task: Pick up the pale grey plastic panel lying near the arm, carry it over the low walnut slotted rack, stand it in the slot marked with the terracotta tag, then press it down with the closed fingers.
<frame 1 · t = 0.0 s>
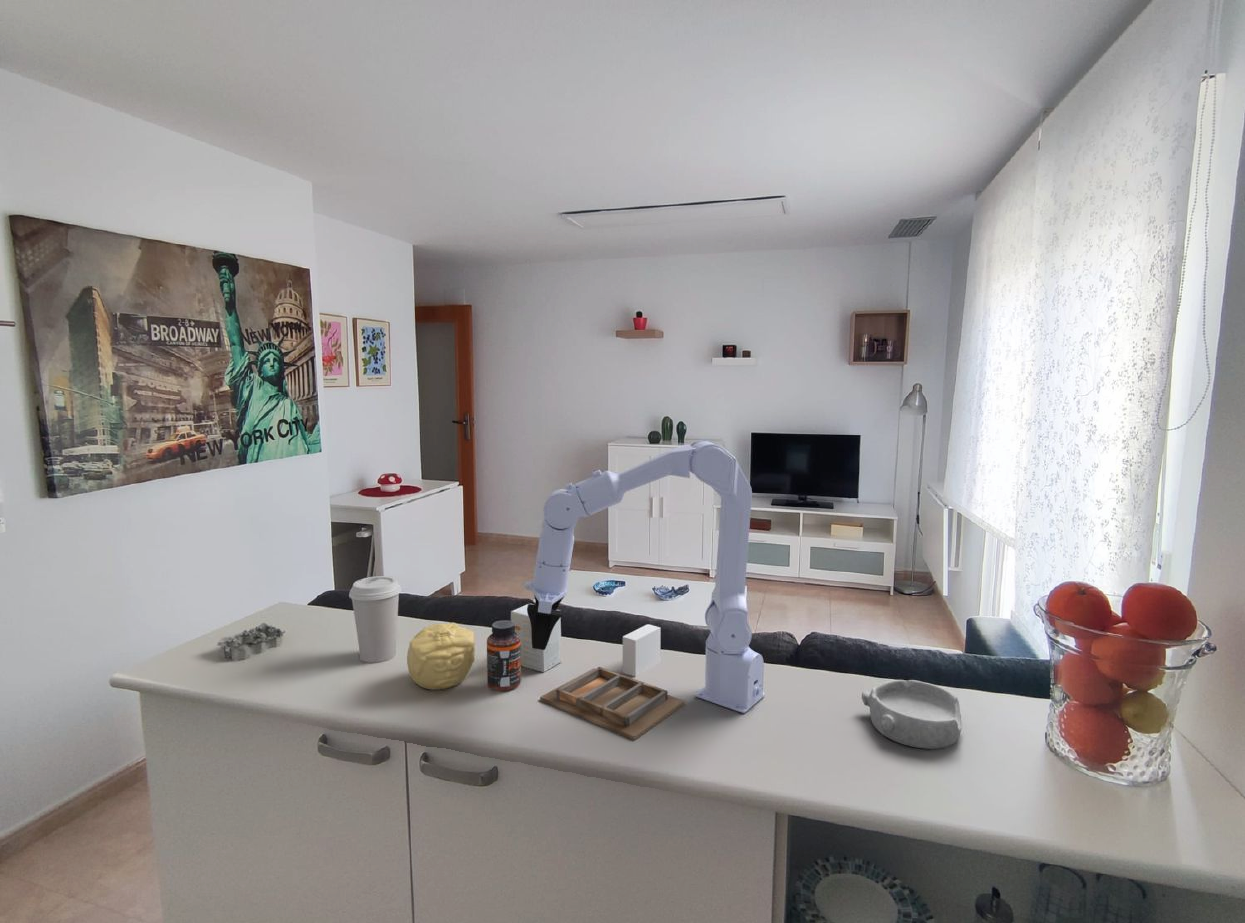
hand: (540, 639, 107), 11 cm above the worktop, tool pointing down, fingers open, 7 cm apart
sculpture: (441, 682, 114), on the worktop
coffee cup: (378, 656, 125), on the worktop
supplement bottle: (504, 686, 113), on the worktop
blanking panel: (641, 667, 120), on the worktop
egg carton: (252, 651, 128), on the worktop
slot rack: (611, 702, 107), on the worktop
small box: (536, 664, 122), on the worktop
dish: (912, 729, 99), on the worktop
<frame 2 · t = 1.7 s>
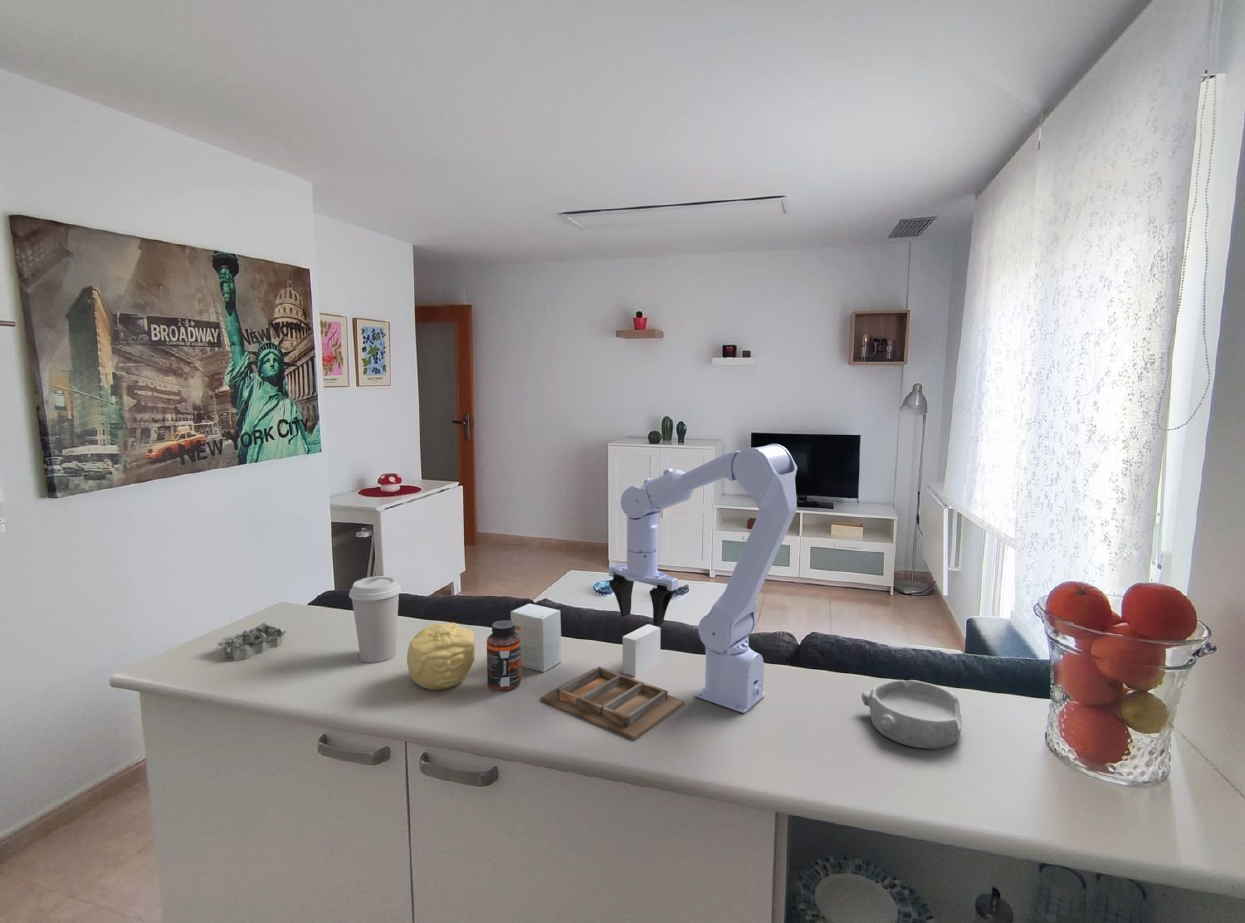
hand: (641, 619, 119), 9 cm above the worktop, tool pointing down, fingers open, 7 cm apart
nothing on the worktop moved.
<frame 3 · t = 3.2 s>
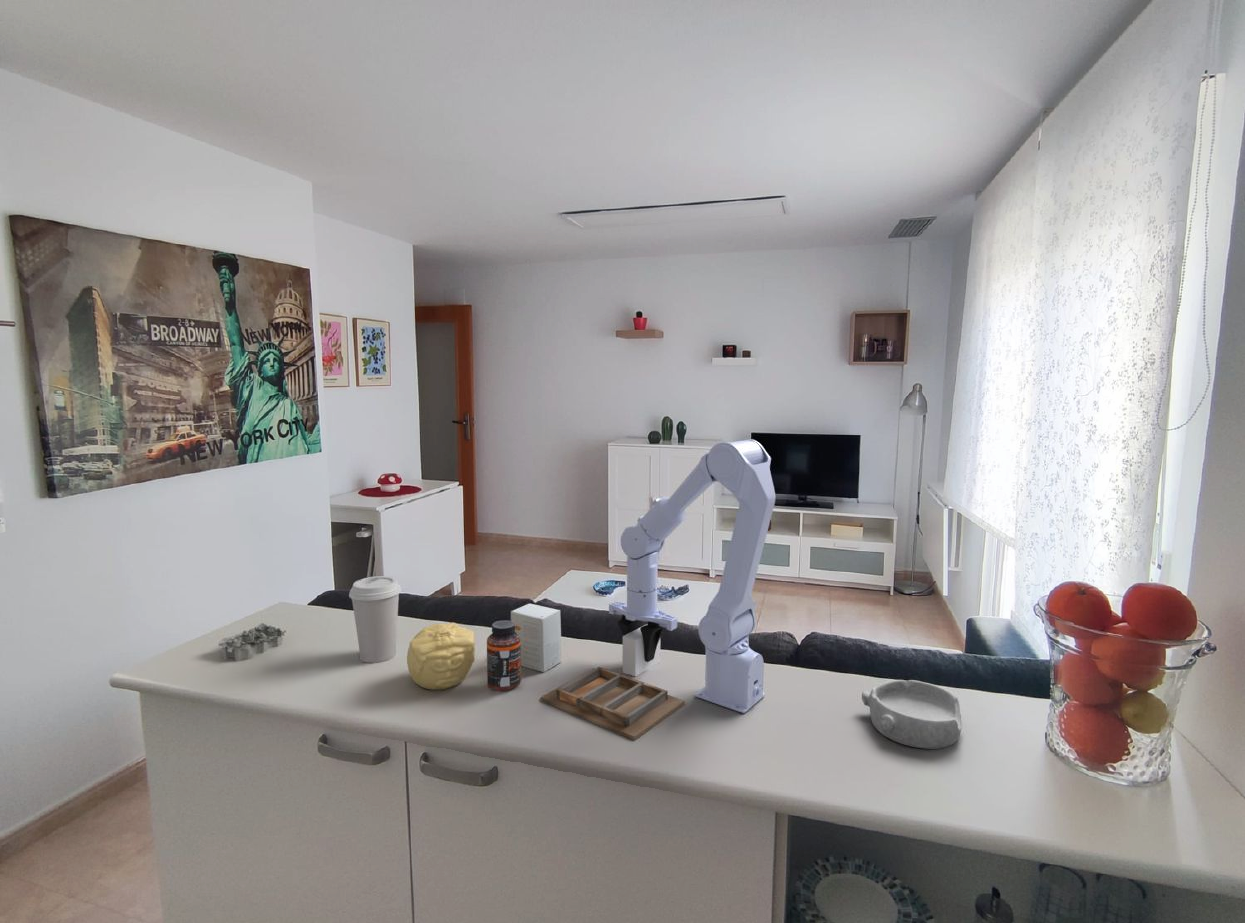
hand: (641, 657, 120), 2 cm above the worktop, tool pointing down, fingers closed on blanking panel, 3 cm apart
blanking panel: (641, 667, 120), on the worktop, touching gripper
everything else where it was.
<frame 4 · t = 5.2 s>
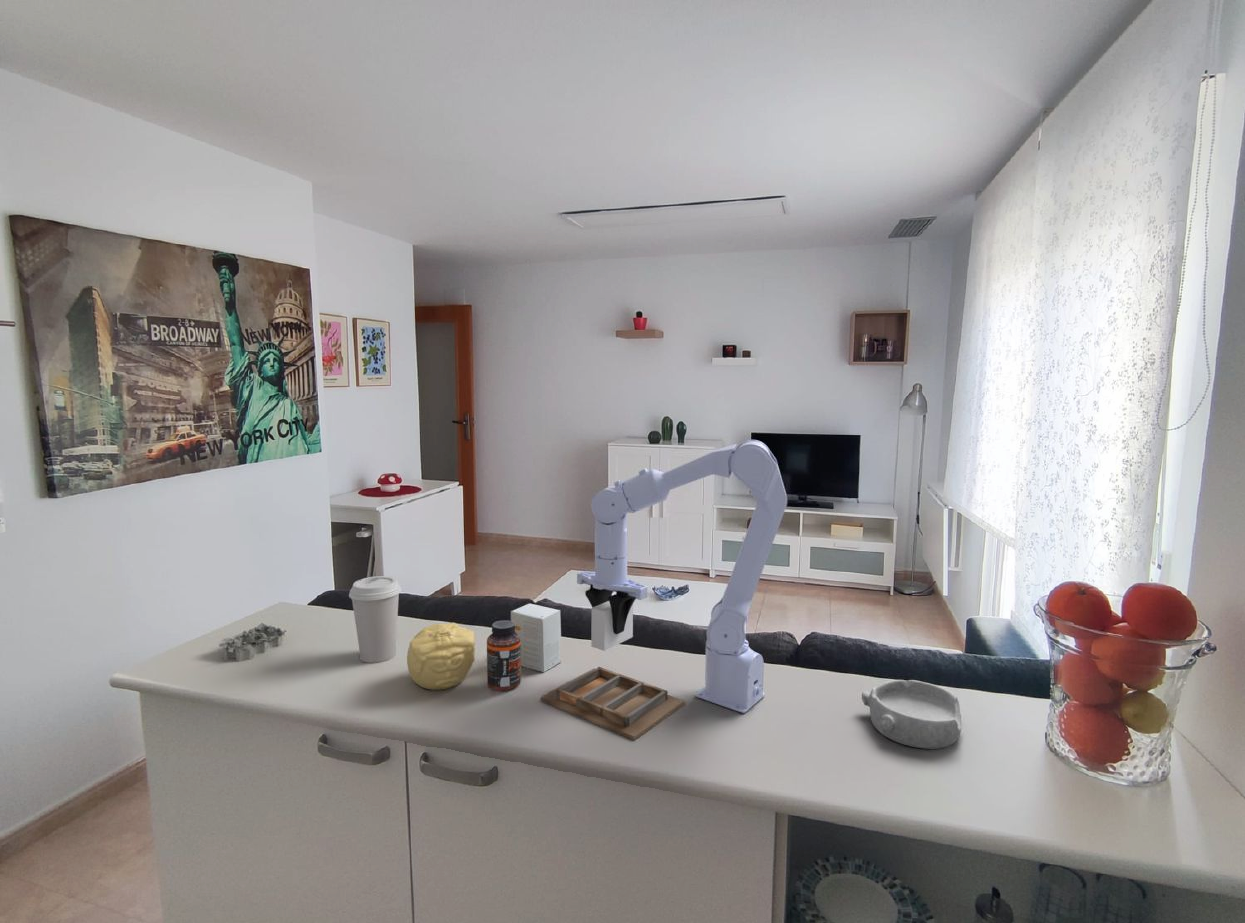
hand: (610, 629, 112), 10 cm above the worktop, tool pointing down, fingers closed on blanking panel, 3 cm apart
blanking panel: (612, 641, 113), point 8 cm above the worktop, touching gripper
everything else where it was.
when the fingers open (4 cm above the worktop, at t = 7.2 s): blanking panel stays where it is, resting on slot rack.
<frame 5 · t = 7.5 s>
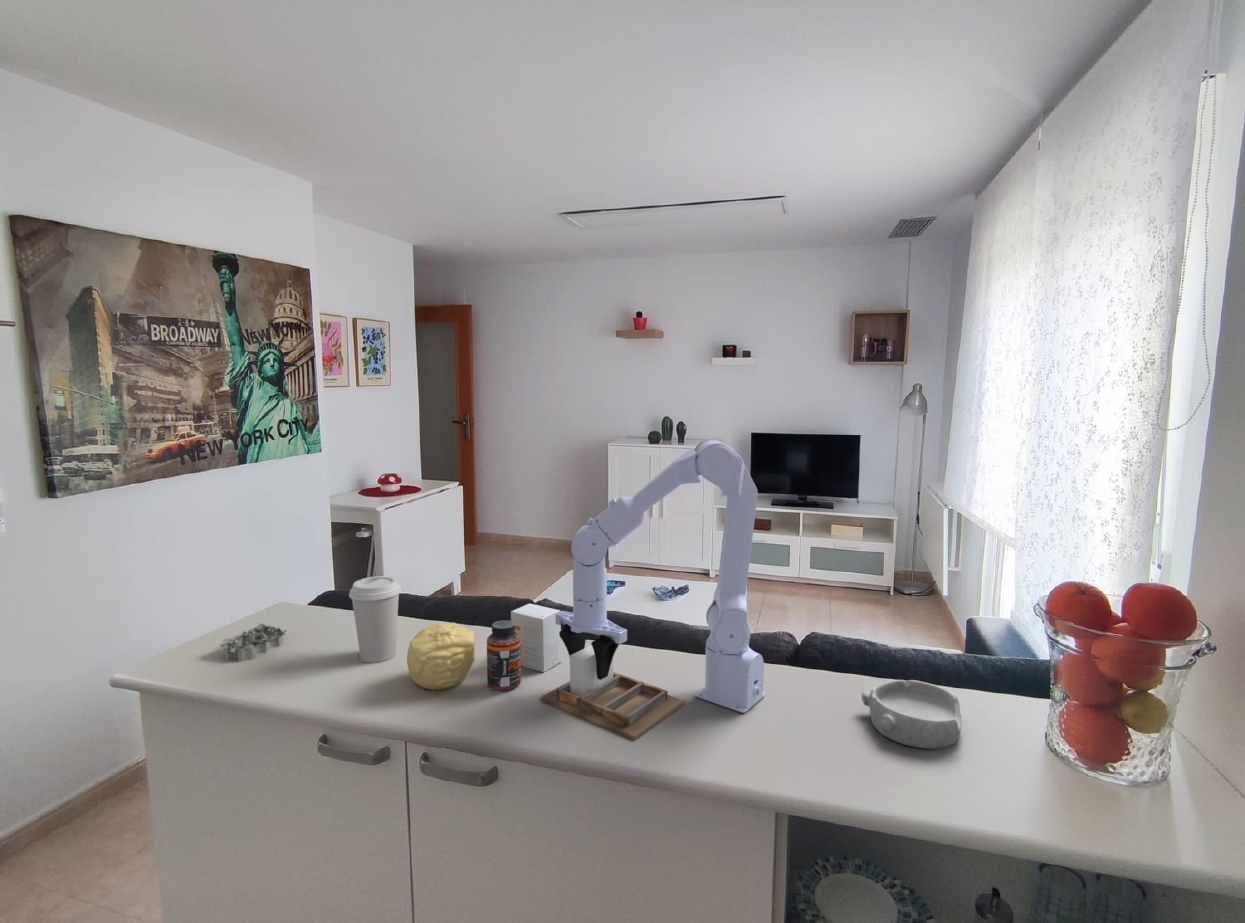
hand: (590, 672, 109), 4 cm above the worktop, tool pointing down, fingers open, 5 cm apart
blanking panel: (592, 688, 110), point 1 cm above the worktop, touching slot rack
everything else where it was.
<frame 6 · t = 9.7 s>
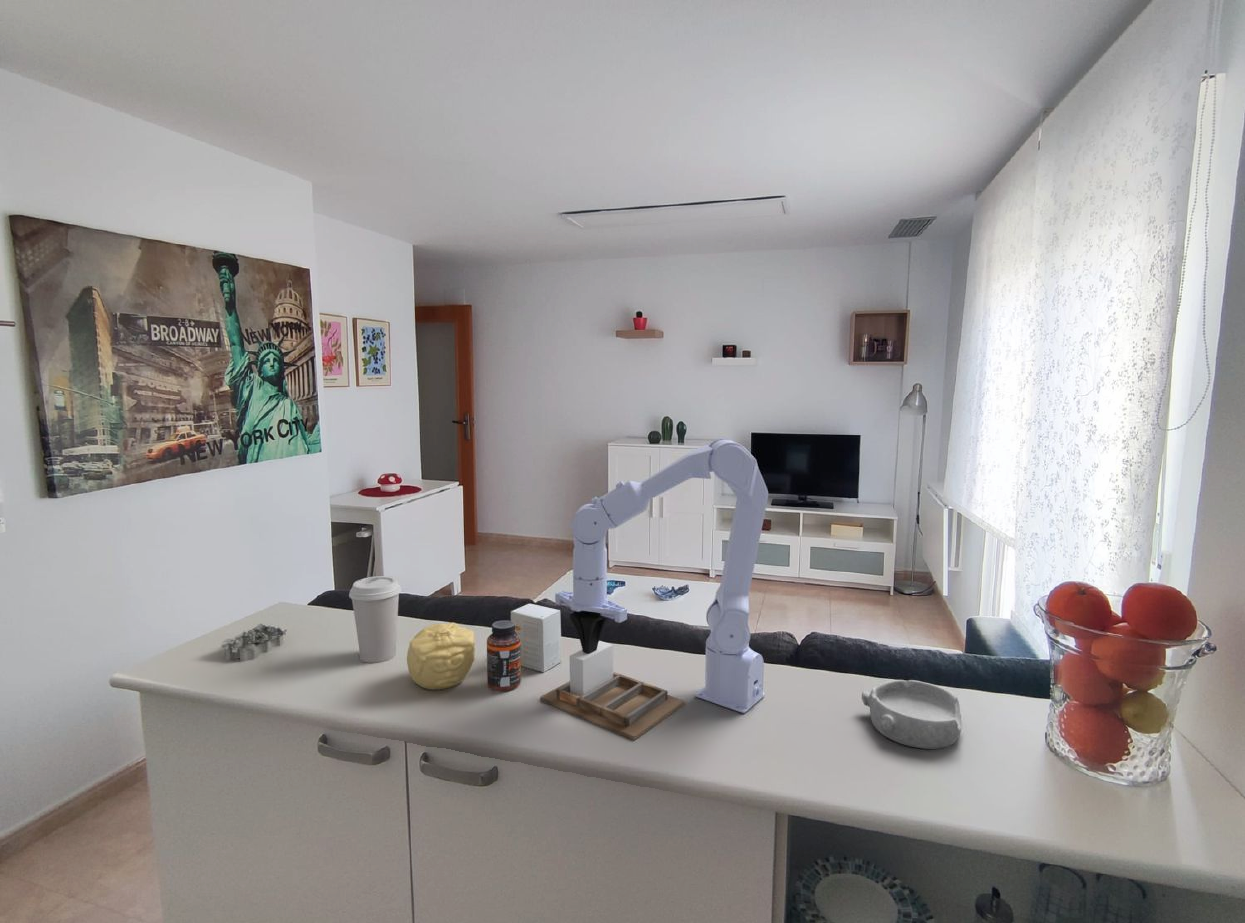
hand: (589, 652, 109), 7 cm above the worktop, tool pointing down, fingers closed, pressing on blanking panel
blanking panel: (592, 688, 110), point 1 cm above the worktop, touching gripper, slot rack
everything else where it was.
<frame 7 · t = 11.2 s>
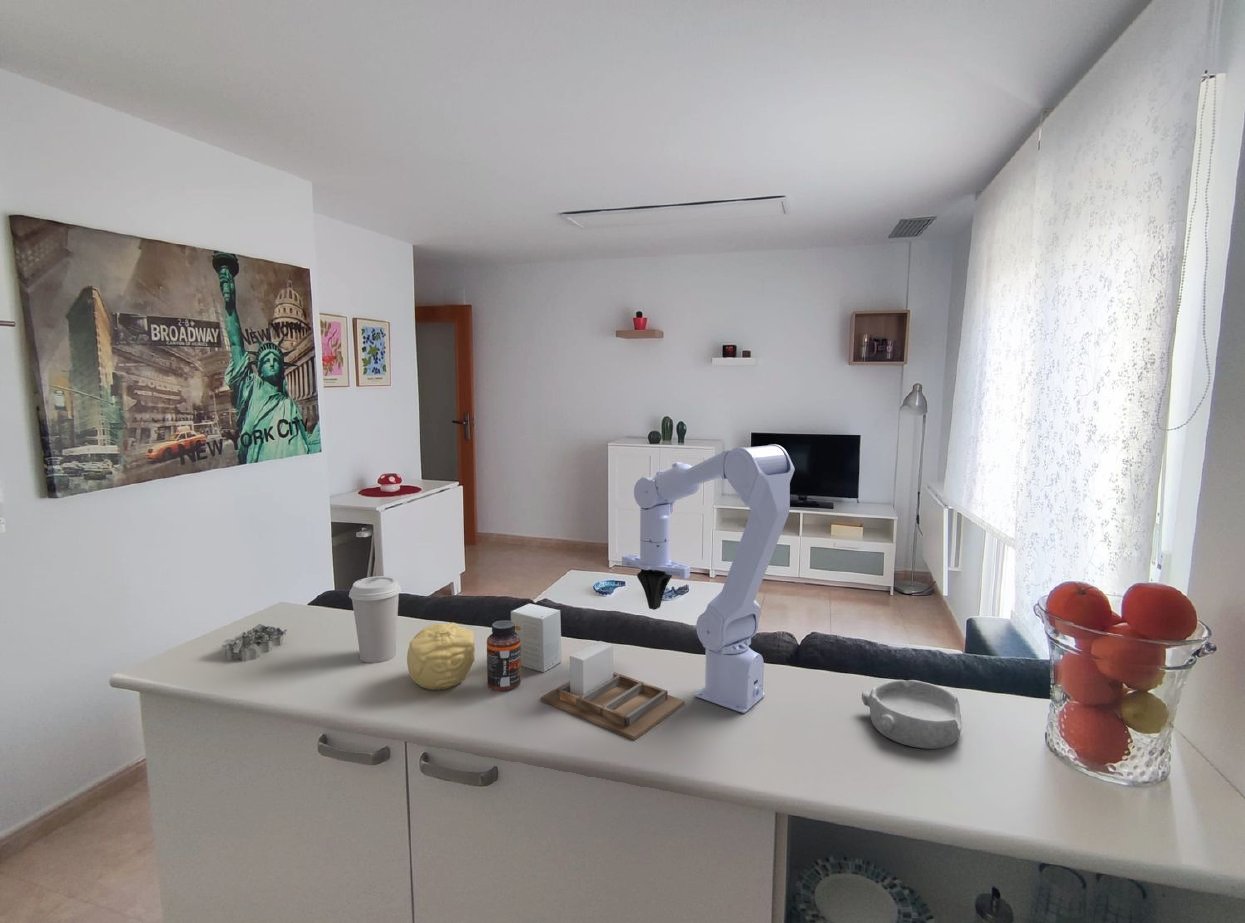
hand: (654, 607, 122), 10 cm above the worktop, tool pointing down, fingers closed
blanking panel: (592, 688, 110), point 1 cm above the worktop, touching slot rack
everything else where it was.
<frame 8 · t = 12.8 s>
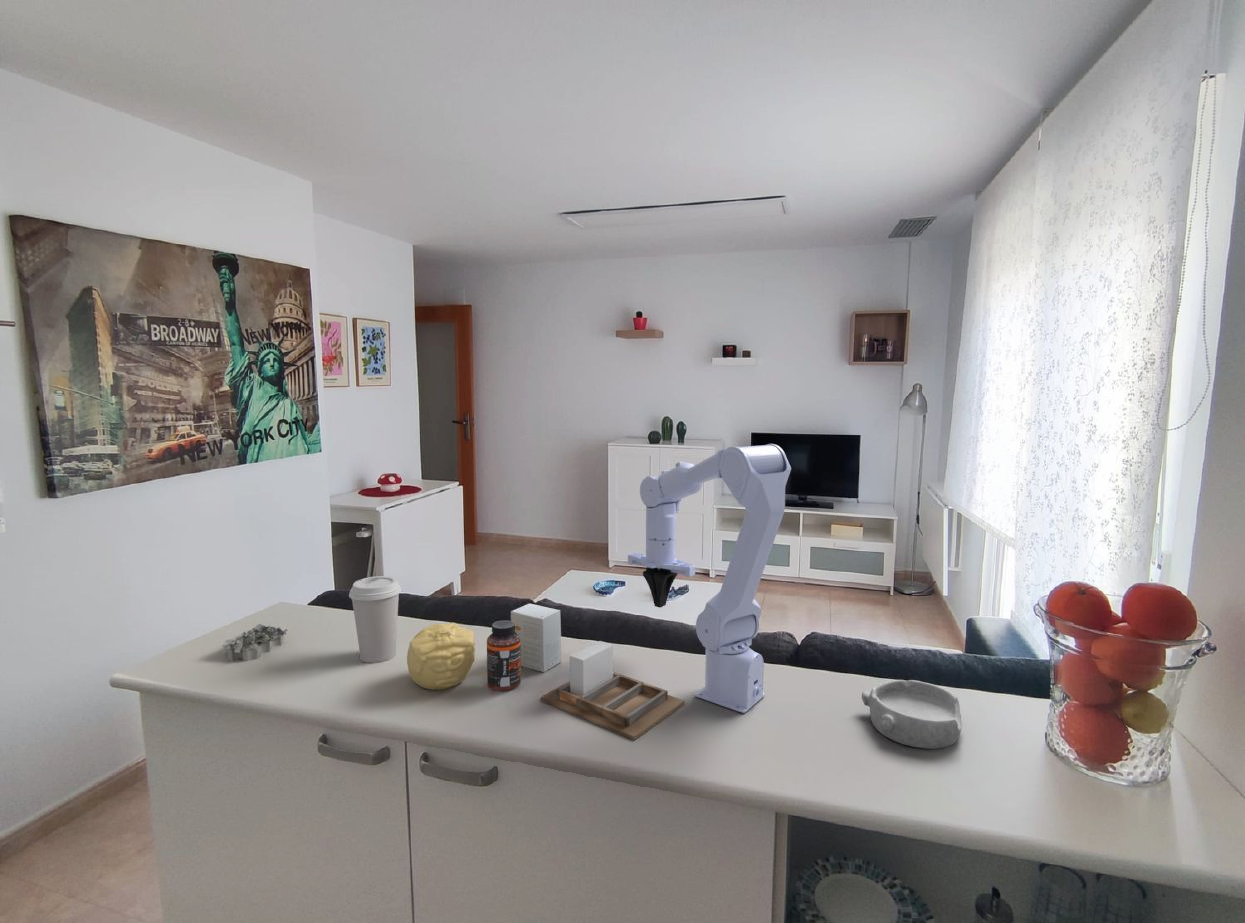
hand: (660, 605, 123), 10 cm above the worktop, tool pointing down, fingers closed
nothing on the worktop moved.
at the end: blanking panel 0.5 cm from the target spot on the slot rack, point 0.7 cm above the slot rack's base; blanking panel tilted 0°; the gripper is holding nothing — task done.
